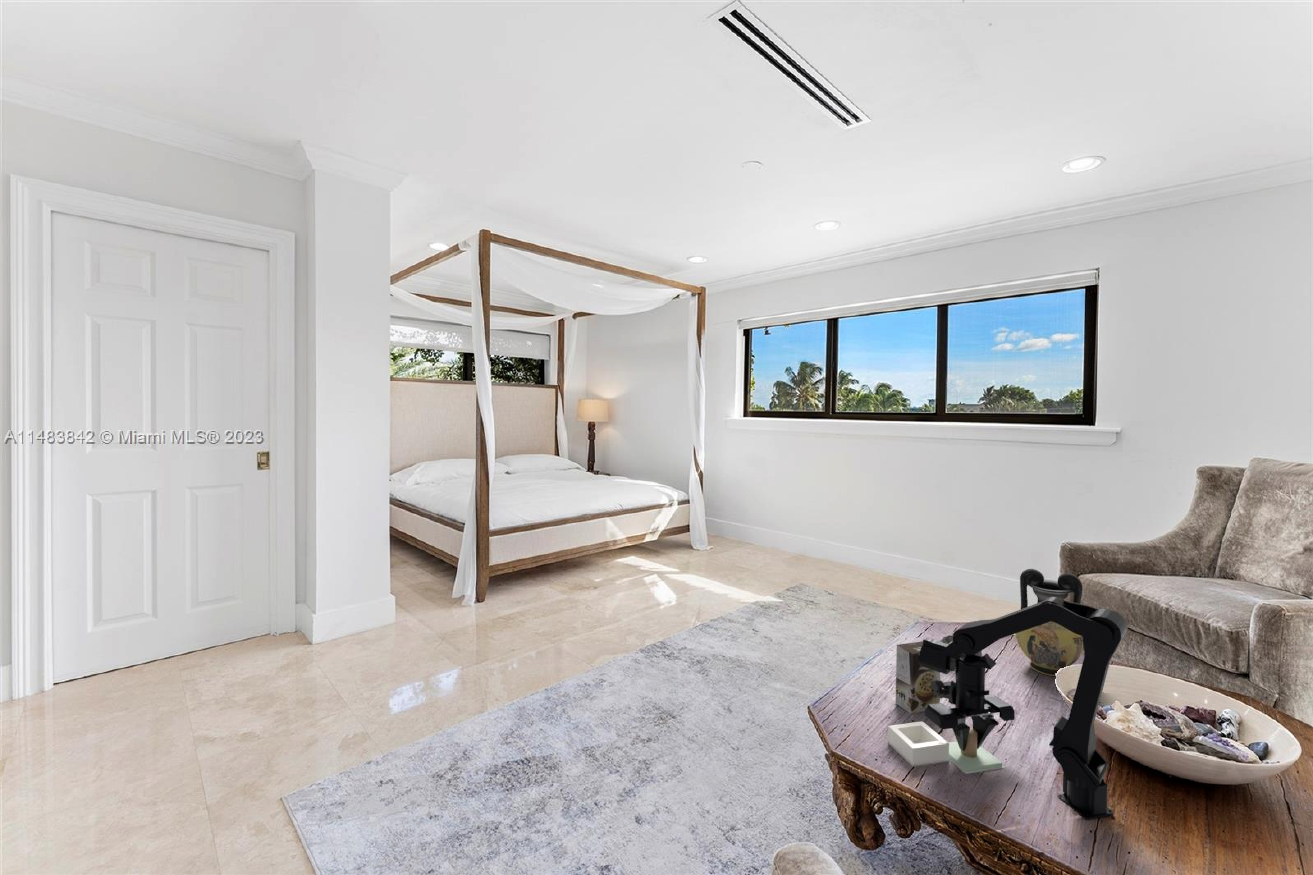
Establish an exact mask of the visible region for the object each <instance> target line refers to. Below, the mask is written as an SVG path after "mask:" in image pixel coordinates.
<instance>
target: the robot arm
mask: <svg viewBox="0 0 1313 875" xmlns="http://www.w3.org/2000/svg"><path fill="white" fill-rule="evenodd" d="M1051 621H1052V622H1054V623H1057V624H1059V625H1061V626H1063V627H1064V628H1066V629H1068V630H1070V631H1071V632H1073V633H1075V634H1078V635H1081V636H1083V648H1084V649H1083V655H1084V657H1083V659H1082V660H1083V661H1082V664H1081V669H1080V673H1079V676H1078V680H1077V684H1076V688H1075V692H1074V696H1073V700H1072V704H1071V708H1070V712H1069V716H1068V718H1066V717H1064V716H1063V715H1061V716H1060V717H1059V718H1058V721H1057V722H1056V723H1055V725H1054V727H1053V735H1052V736H1053V737H1052V739H1051V741H1050V742H1049V744H1048V745H1049V747H1052V756H1053V757H1054V759H1055V760H1056V762H1057V763H1058V764H1059V765H1060V766H1061V769H1062V772H1063V773H1062V775H1063V776H1062V793H1058V794H1057V798H1058V799H1059V800H1061V801H1062V802H1063V803H1065V804H1066V805H1068V807H1070V808H1071V809H1073V810H1074V812H1077V813H1078V814H1079V815H1080V816H1081V817H1082V818H1084V819H1085V820H1091V819H1097V818H1104V817H1109V816H1114V811H1113V809H1111V808H1109V807H1108V783H1106V782H1105V779H1104V776H1105V773H1106V772H1107V770H1108V768H1109V765H1110V764H1109V762H1108V761H1107V760H1106V759H1105V757H1104V756H1103V755H1102V754H1101V753H1100V752H1099V751H1098V750H1097V749H1096V731H1095V730H1096V729H1095V721H1096V716H1097V712H1098V708H1099V706H1100V701H1101V698H1102V695H1103V691H1104V690H1103V689H1104V686H1105V682H1106V678H1107V675H1108V670H1109V667H1110V663H1111V660H1112V658H1113V657H1114V655H1115V653H1116V651H1117V649H1118V648H1119V646H1120V644H1121V642H1122V641H1123V639H1124V637H1125V635H1126V633H1127V631H1128V627H1129V626H1128V621H1127V620H1125V618H1124V616H1122V615H1121V614H1120V613H1119V612H1117V611H1115V610H1114V609H1110V608H1096V607H1093V606H1091V605H1087V604H1082V603H1080V604H1078V603H1073V601H1069V600H1066V599H1064V600H1063V599H1060V598H1057V597H1049V598H1047V599H1046V600H1044V601H1042V602H1039V603H1034V604H1032V605H1029V606H1028V607H1026V608H1023V609H1021V608H1020V609H1019V610H1015V611H1013V612H1010V613H1007V614H1005V615H1002V616H999V617H997V618H992V619H979V620H975V621H969V622H966V623H965V624H963V625H962V626H960V627H959V628H958V629H956V630H955V631H953V641H951V642H950V643H949V644H946V643H942V642H939V641H940V640H935V639H933V638H931V637H929V636H928V637H925V638H924V639H922V641H923V645H922V647H921V650H920V654H919V656H918V660H919V664H920V666H922V667H925V668H928V669H931V670H934V671H937V672H940V674H943V675H949V673H950V672H954V671H955V679H953V680H951V681H943V680H941V679H940V681H939V680H933V681H931V690H932V693H933V695H937V696H939V698H940V699H948V700H947V701H948V703H949V704H950V705H954V707H952V708H951V707H948V706H947V705H945V704H943V703H942V702H940V703H937V704H929V705H927V706H926V707H925V711H924V716H925V717H926V718H927V719H928V720H929V721H930V722H932V723H933V724H935V726H937V727H938V728H939V729H941V730H949V729H951V730H952V731H953V733H954V736H955V740H956V741H957V742H958V745H959V748H960V749H961V750H962V751H965V748H966V745H967V740H968V736H969V731H970V728H971V727H970V726H969V725H968V724H967V723H966V719H967V718H971V720H972V721H971V722H972V729H973V730H975V731H976V732H977V749H979V747H980V746H981V747H982V744H983V743H984V741H985V740H986V739H987V738H988V736H989V734H991V732H992V731H993V729H994V728H995V727H996V726H999V725H1000V724H999V723H1000V722H999V721H998V720H996V719H995V716H994V714H996V713H999V715H998V716H999V718H1000V719H1001V720H1003V721H1004V722H1009V721H1014V720H1015V714H1016V711H1015V709H1014V707H1013V706H1012V705H1011V704H1009V702H1006V701H1005V700H1003V699H1002V698H1000V697H999V696H997V695H993V696H989V695H990V690H989V689H988V688H986V684H985V683H986V681H985V680H986V669H987V670H992V669H993V668H994V667H995V666H996V665H997V663H996V661H995V660H994V659H993V658H992V657H990V655H989V654H988V653H985V654H983V655H982V656H981V655H977V653H978V652H980V651H984V650H985V649H987V648H988V647H990V646H992V644H994V643H997V641H999V640H1001V639H1004V638H1007V637H1010V636H1013V635H1016V633H1019V632H1022V631H1025V630H1028V629H1030V628H1033V627H1036V626H1039V625H1042V624H1045V623H1048V622H1051ZM963 653H964V654H963Z"/></svg>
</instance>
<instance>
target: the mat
mask: <svg viewBox="0 0 1313 875" xmlns="http://www.w3.org/2000/svg"><path fill="white" fill-rule="evenodd" d="M949 761H950V762H951V763H952V764H953V765H954V766H956V767H957V768H958V769H959V770H961V772H962V773H964V774H965V775H967V774H974V773H980V772H986V771H988V772H989V771H993V770H1000V769H1001V770H1002V769H1006V766H1005V765H1003V764H1002V767H995V768H989V769H982V770H976V771H969V772H965V771H964V770H963V769H962V768H961V767H960V766H958V765H957V764H956V763H955V762H954V761H953V760H951V759H950V758H949Z"/></svg>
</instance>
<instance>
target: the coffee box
mask: <svg viewBox="0 0 1313 875" xmlns="http://www.w3.org/2000/svg"><path fill="white" fill-rule="evenodd" d="M922 645H923V640H922V641H915V642H914V641H913V642H909V643H900V644H896V657H895V658H896V660H895V662H896V663H895V664H896V666H895V704H896V705H898V706H899V707H901V709H903V710H904V711H905V712H908V713H910V714H917V713H922V712H925V707H926V706H927V705H929V704H937V703H941V698H939V696H937V695H933V693H932V690H931V681H933V680H939V681H940V680H941V673H940V672H937V671H934V670H931V669H928V668H925V667H922V666H920V664H919V660H918V656H919V654H920V650H921V647H922Z"/></svg>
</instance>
